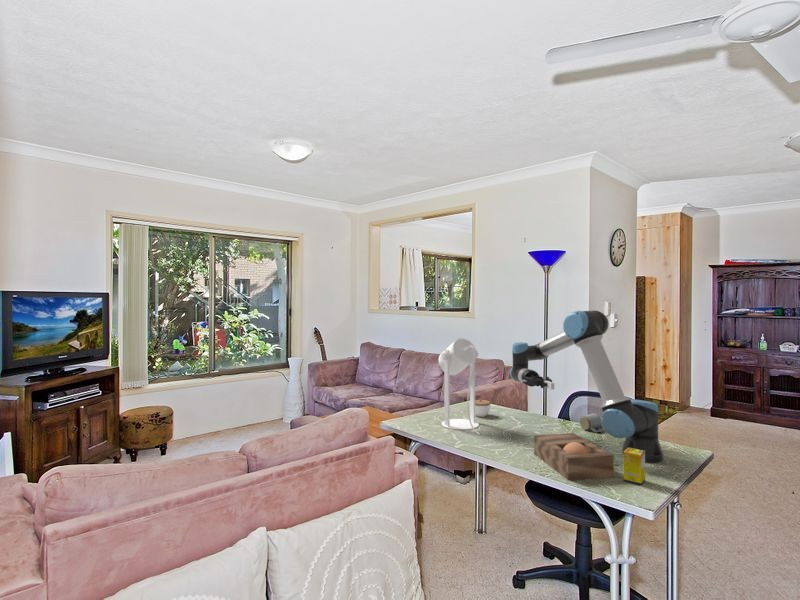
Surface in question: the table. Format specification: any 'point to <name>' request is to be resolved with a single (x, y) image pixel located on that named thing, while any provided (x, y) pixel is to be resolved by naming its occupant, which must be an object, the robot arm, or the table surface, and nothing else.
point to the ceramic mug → (591, 422)
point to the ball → (575, 448)
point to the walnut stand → (573, 457)
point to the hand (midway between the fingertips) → (552, 386)
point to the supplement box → (634, 466)
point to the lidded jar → (482, 407)
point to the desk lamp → (452, 364)
